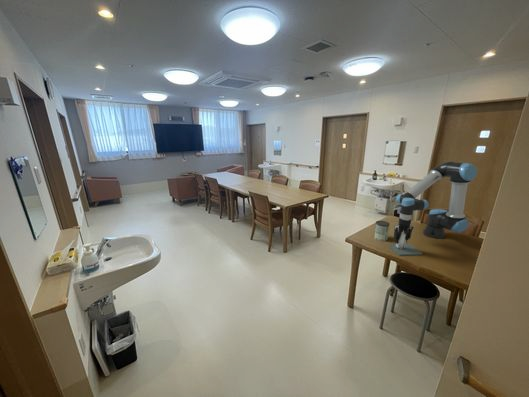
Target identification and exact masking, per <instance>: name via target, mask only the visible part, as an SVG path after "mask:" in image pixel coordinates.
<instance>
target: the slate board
mask: <svg viewBox="0 0 529 397" xmlns="http://www.w3.org/2000/svg"><path fill="white" fill-rule="evenodd" d="M388 247H389V249H391V250H392V251H393V252H394V253H396V254H397V255H398V256H399V257H401V256H404V257H405V256H423V252H422V251H420V250H419V249H417V248H416V247H415V246H413V245H412V244H410V243H406V245H405V248H404V247H403V249H399V248H397V247H396V244H388Z"/></svg>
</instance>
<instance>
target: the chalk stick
mask: <svg viewBox="0 0 529 397" xmlns="http://www.w3.org/2000/svg"><path fill="white" fill-rule="evenodd" d="M405 236H406V234H405V233H404V231H403V232H402V234H401V237H400V239H399V240H400V245H399V249H403V247H404V241H405ZM397 248H398V247H397Z"/></svg>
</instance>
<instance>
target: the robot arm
mask: <svg viewBox="0 0 529 397" xmlns="http://www.w3.org/2000/svg"><path fill="white" fill-rule="evenodd" d="M477 176H478V168H477V167H476V166H475V164H471V163H468V162H457V161H446V162H442V163H440V164H438V165H436V166H435V167H433V168H432V169H431V170H429V173H428V174H426V175H425V176H424V177H423V178H422V179H420V181H418V182H417V183H416V184H414V185H413V186H412V187H411V188H409V190H407V191H406V192H405V193H404V194H402V193H399V194H398V195H397V196H396V197H395V201H396V202H397V203H398V204H400V212H399V219H398V224H397V226H393V227H394V228H393V229H394V231H393V232H394V233H393V239H395V245H396V247H398V248H399V245H400V240H399V239H400V237H401V234H402V232H403V233H405V234H406V236H405V241H404V248H405V245H406V244H408V241H409V240H411V237H412V232H413V230H414V226H412V225H411V222H412V220H413V212H414V211H424V210H427V209H428V208H429V206H430V203H429V202H428V200H426V199H423V198H422V199H418V198H417V197H418V196H421V194H422V193H424V192H425V191H426V190H427V189H429V188H430V187H431V186H432V185H433V184H435V183H436V182H437V181H438V180H442V179H443V178H449V182H450V183H451V190H450V197H449V204H448V210H447V209H443V208H432V209H430V210H429V212H428V219H427V223H426V226H425V227H424V229H423V231H422V234H423V235H424V236H426V237H428V238H429V237H430V238H432V239H439V240H440V239H444V238H445V237H446V234H445V229H447V230H449V231H451V232H453V233H454V232H455V233H459V234H460V233H462V232H464V231H465V230H466V229H467V228H468V227H469V225H470V222H469V220H468V219H466V214H464V211H465V203H466V197H467V190H468V184H470V183H472V181H473V180H474V179H476V177H477Z"/></svg>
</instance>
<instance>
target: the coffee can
mask: <svg viewBox="0 0 529 397" xmlns="http://www.w3.org/2000/svg"><path fill="white" fill-rule="evenodd" d="M390 225H391V224H390V222H388V221H386V220H376V221H375V226H374V236H373V237H374V239H375V240H378V241H381V242H382V241H385V242H386V241H387V240H388V238H389V237H388V236H389V231H390V230H389V229H390Z"/></svg>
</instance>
